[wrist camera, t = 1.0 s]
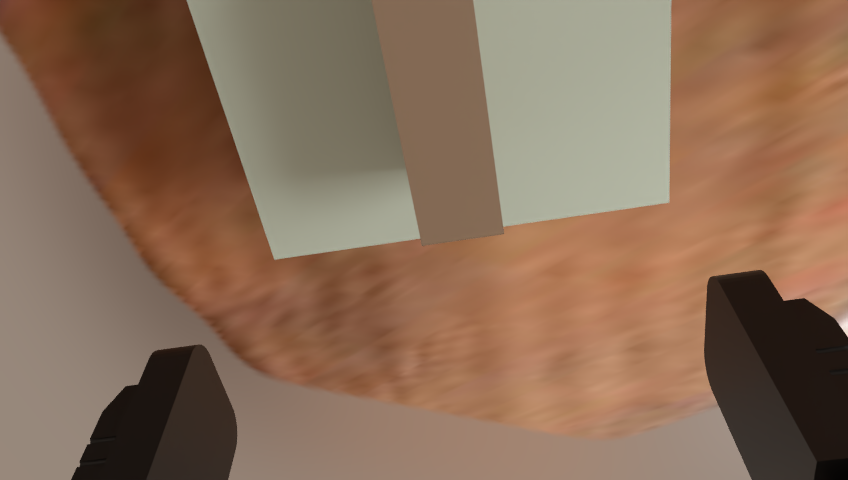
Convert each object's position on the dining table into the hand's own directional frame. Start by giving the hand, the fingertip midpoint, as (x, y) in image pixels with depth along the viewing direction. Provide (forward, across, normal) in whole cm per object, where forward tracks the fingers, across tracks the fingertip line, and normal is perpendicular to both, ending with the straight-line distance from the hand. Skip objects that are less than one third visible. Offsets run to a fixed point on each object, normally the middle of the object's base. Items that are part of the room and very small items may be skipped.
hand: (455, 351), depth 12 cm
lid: (+16, 0, 0) cm, 16 cm away
